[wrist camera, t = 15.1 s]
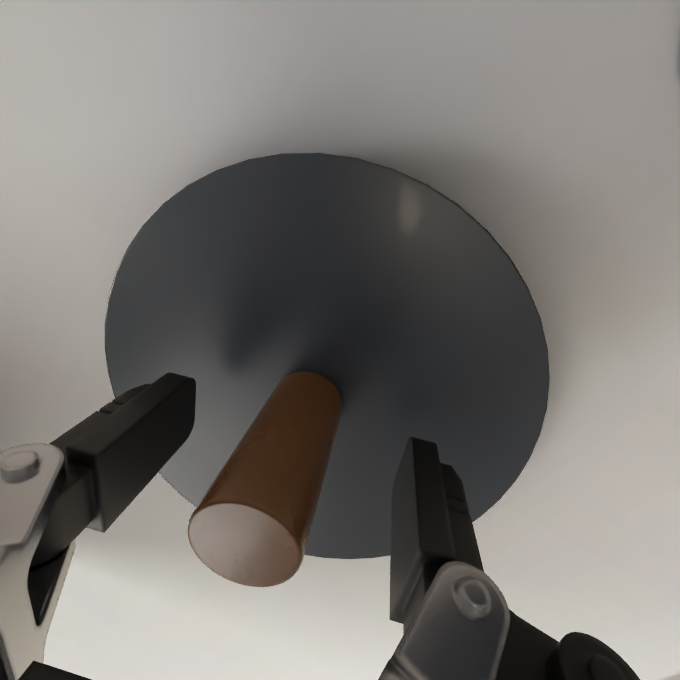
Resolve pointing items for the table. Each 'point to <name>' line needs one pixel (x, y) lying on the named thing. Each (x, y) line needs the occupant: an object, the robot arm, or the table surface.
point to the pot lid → (325, 353)
